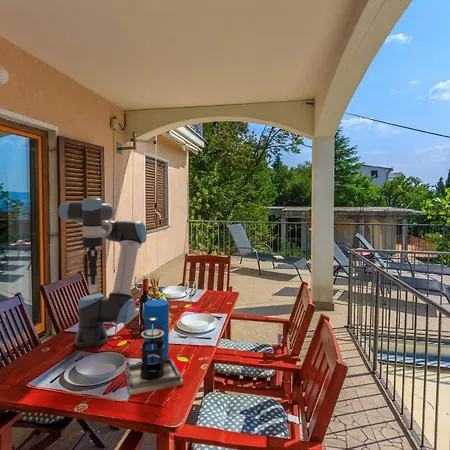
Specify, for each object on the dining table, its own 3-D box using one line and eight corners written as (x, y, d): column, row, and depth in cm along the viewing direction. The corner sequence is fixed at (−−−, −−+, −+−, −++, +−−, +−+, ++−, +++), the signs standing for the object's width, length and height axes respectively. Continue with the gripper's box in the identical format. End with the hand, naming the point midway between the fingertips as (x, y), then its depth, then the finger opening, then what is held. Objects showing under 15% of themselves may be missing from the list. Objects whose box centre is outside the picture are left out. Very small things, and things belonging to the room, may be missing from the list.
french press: (153, 383, 127) (154, 324, 125) (133, 377, 131) (134, 320, 129) (171, 369, 138) (171, 315, 136) (152, 364, 142) (152, 311, 140)
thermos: (147, 363, 145) (147, 307, 144) (141, 353, 155) (141, 300, 153) (171, 359, 150) (172, 304, 149) (164, 349, 160) (164, 298, 158)
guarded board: (124, 371, 138) (124, 364, 138) (171, 363, 146) (171, 356, 146) (130, 395, 122) (130, 387, 122) (183, 384, 130) (183, 377, 129)
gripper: (82, 233, 145) (82, 281, 147) (82, 240, 122) (82, 297, 124) (100, 233, 148) (100, 280, 150) (103, 239, 125) (104, 295, 127)
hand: (92, 288), depth 137 cm, fingers open, 13 cm apart
